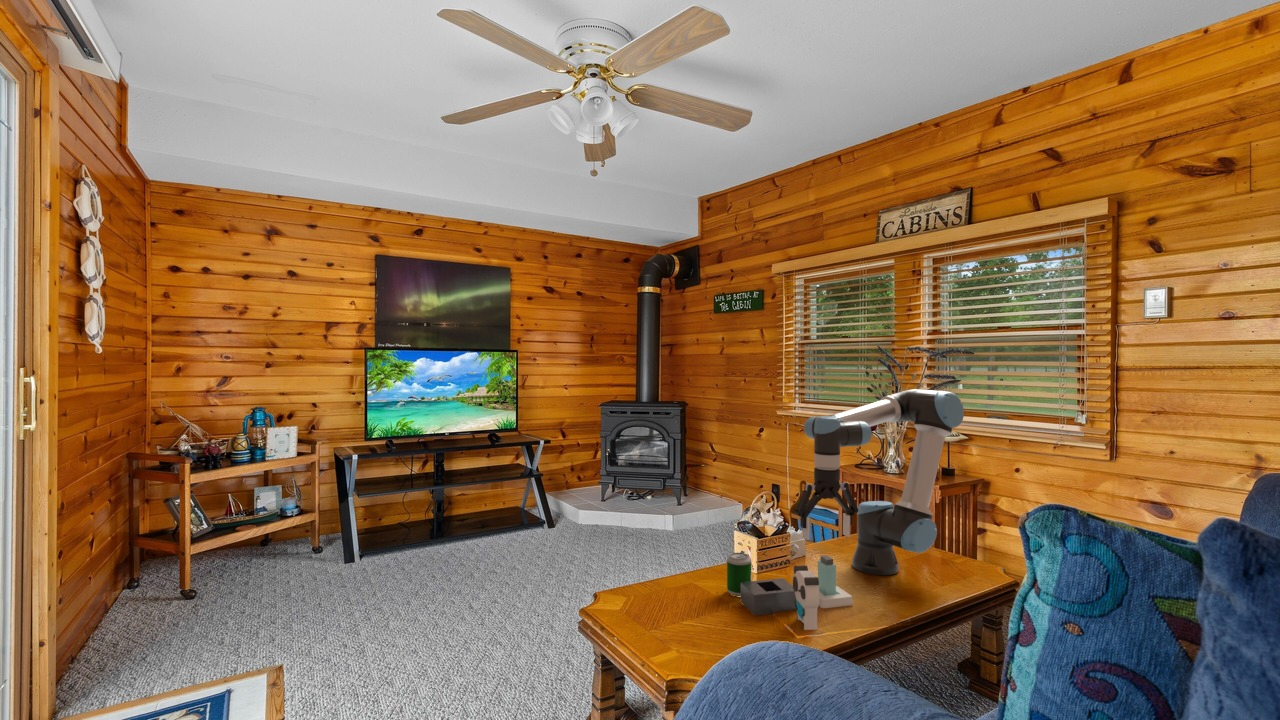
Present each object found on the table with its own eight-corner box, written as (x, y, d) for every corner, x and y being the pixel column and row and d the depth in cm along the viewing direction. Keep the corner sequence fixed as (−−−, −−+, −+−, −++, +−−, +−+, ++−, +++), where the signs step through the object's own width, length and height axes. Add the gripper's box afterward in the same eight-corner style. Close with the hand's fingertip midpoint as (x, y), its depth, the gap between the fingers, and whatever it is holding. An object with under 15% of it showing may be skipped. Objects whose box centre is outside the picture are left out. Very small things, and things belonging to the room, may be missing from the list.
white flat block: (831, 591, 193) (831, 581, 193) (852, 606, 181) (852, 596, 181) (802, 594, 191) (802, 584, 191) (822, 610, 179) (822, 599, 179)
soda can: (751, 599, 187) (751, 560, 187) (726, 597, 188) (726, 558, 188) (751, 590, 194) (751, 552, 194) (727, 588, 196) (727, 551, 196)
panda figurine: (780, 616, 175) (780, 564, 175) (819, 615, 176) (819, 563, 175) (792, 635, 163) (792, 580, 163) (834, 634, 164) (834, 579, 163)
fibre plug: (827, 594, 189) (827, 554, 189) (835, 601, 184) (836, 559, 184) (817, 595, 188) (817, 555, 188) (826, 602, 183) (826, 560, 183)
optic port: (783, 597, 188) (783, 578, 188) (798, 610, 179) (798, 590, 178) (740, 601, 185) (740, 582, 185) (754, 615, 175) (754, 595, 175)
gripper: (856, 463, 192) (855, 530, 192) (783, 466, 186) (783, 536, 187) (870, 468, 185) (870, 538, 185) (795, 471, 179) (794, 543, 179)
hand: (826, 537), depth 186 cm, fingers open, 13 cm apart
